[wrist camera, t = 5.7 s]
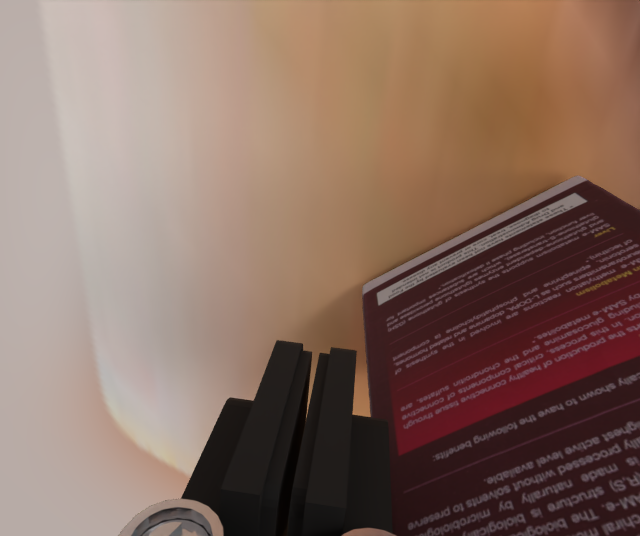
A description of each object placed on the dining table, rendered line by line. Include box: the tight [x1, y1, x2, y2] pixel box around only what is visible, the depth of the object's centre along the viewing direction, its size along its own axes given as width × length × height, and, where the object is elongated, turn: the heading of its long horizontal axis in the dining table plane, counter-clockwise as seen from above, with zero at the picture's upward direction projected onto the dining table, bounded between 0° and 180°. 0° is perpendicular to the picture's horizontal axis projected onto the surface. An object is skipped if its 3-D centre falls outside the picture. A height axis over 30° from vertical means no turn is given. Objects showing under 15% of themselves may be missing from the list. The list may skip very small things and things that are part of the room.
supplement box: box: [362, 175, 640, 536], centre depth 11 cm, size 9×5×16 cm, turn 121°
